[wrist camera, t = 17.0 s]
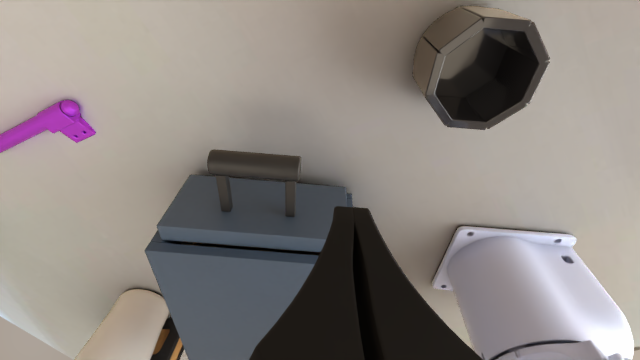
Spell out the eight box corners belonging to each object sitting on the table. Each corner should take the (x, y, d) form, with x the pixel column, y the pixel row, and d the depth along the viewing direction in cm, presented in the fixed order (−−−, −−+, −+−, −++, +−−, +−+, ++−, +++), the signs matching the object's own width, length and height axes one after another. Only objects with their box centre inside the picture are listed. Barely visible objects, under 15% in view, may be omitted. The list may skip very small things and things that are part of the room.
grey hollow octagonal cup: (525, 9, 16) (569, 23, 13) (487, 103, 19) (515, 132, 16) (426, 1, 16) (447, 13, 13) (404, 96, 19) (416, 124, 16)
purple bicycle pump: (69, 93, 20) (-72, 168, 24) (60, 104, 19) (-84, 180, 24) (106, 123, 22) (-31, 187, 26) (99, 134, 21) (-41, 199, 25)
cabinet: (189, 180, 24) (144, 250, 18) (352, 193, 24) (356, 267, 18) (215, 291, 32) (189, 362, 27) (334, 300, 32) (333, 373, 27)
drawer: (178, 120, 20) (135, 166, 16) (353, 134, 20) (358, 183, 16) (215, 286, 30) (195, 340, 26) (330, 295, 30) (329, 350, 26)
